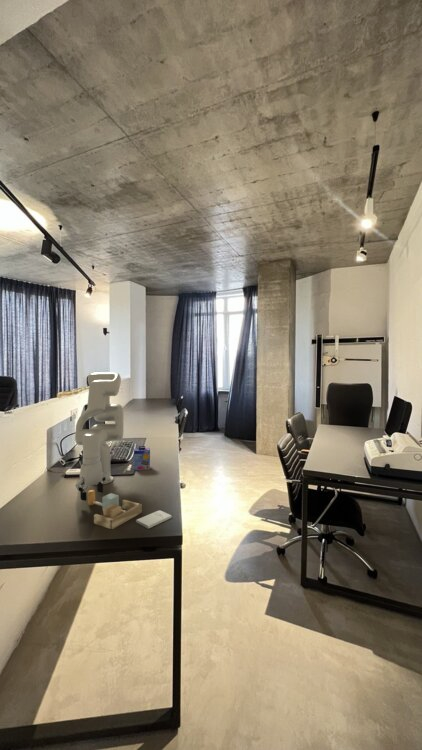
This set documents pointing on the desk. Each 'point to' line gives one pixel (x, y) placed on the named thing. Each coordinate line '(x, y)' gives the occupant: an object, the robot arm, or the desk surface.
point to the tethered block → (103, 499)
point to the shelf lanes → (111, 523)
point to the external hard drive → (153, 519)
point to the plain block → (112, 511)
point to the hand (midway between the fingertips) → (92, 496)
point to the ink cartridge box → (141, 458)
